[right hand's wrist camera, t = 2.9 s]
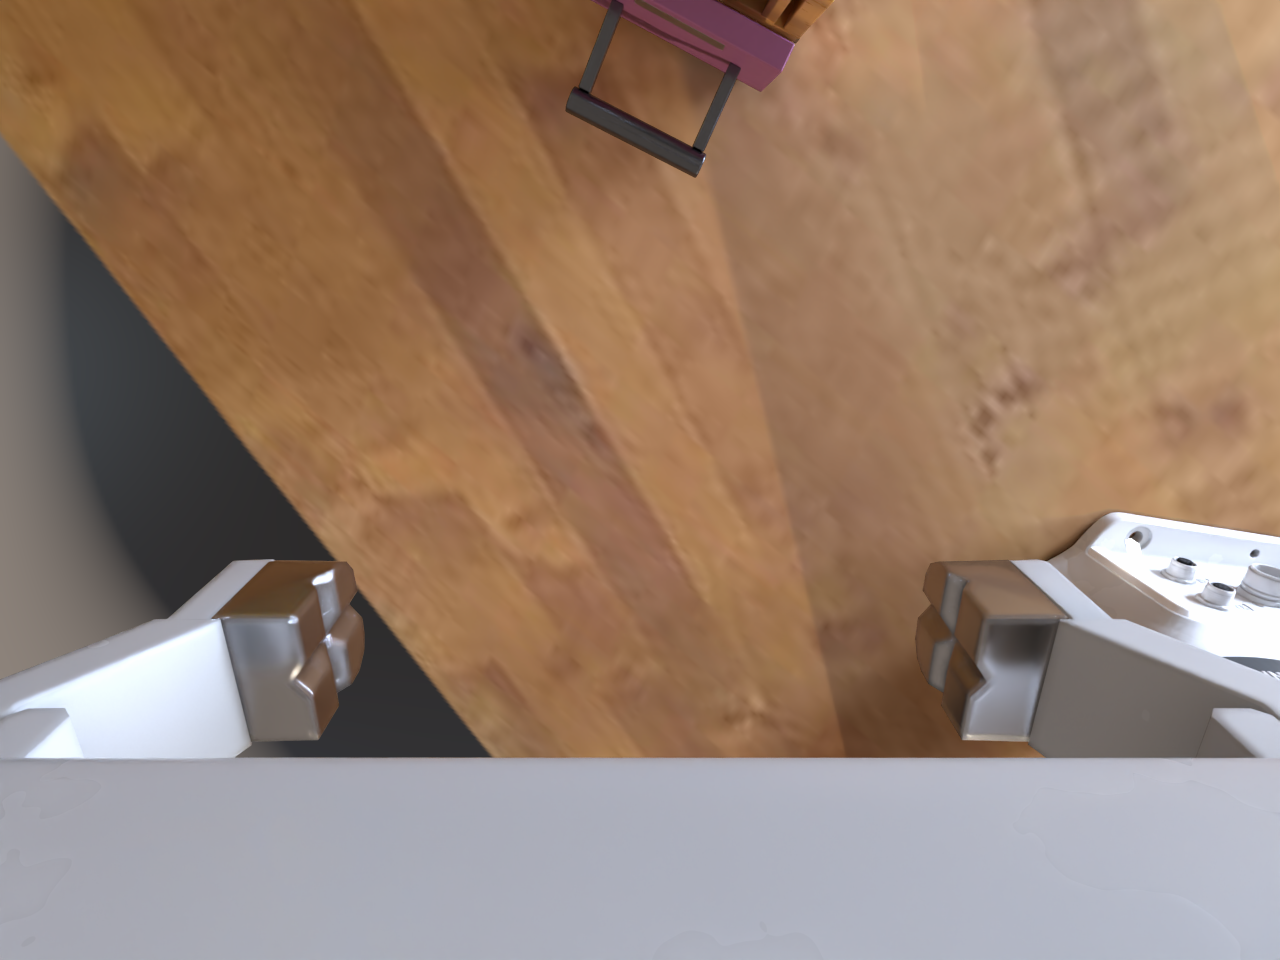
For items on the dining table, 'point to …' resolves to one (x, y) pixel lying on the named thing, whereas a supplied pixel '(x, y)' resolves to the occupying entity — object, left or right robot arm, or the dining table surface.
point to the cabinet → (793, 17)
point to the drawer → (695, 22)
